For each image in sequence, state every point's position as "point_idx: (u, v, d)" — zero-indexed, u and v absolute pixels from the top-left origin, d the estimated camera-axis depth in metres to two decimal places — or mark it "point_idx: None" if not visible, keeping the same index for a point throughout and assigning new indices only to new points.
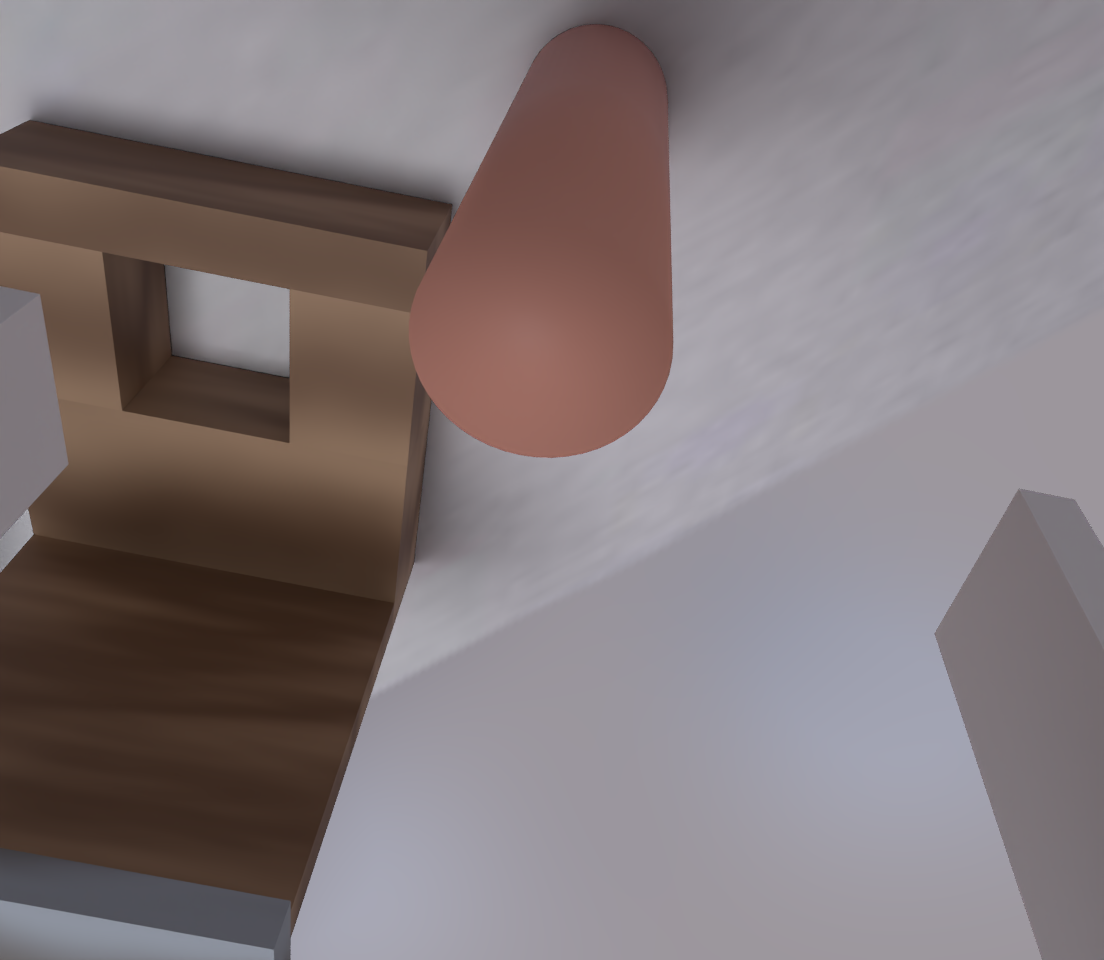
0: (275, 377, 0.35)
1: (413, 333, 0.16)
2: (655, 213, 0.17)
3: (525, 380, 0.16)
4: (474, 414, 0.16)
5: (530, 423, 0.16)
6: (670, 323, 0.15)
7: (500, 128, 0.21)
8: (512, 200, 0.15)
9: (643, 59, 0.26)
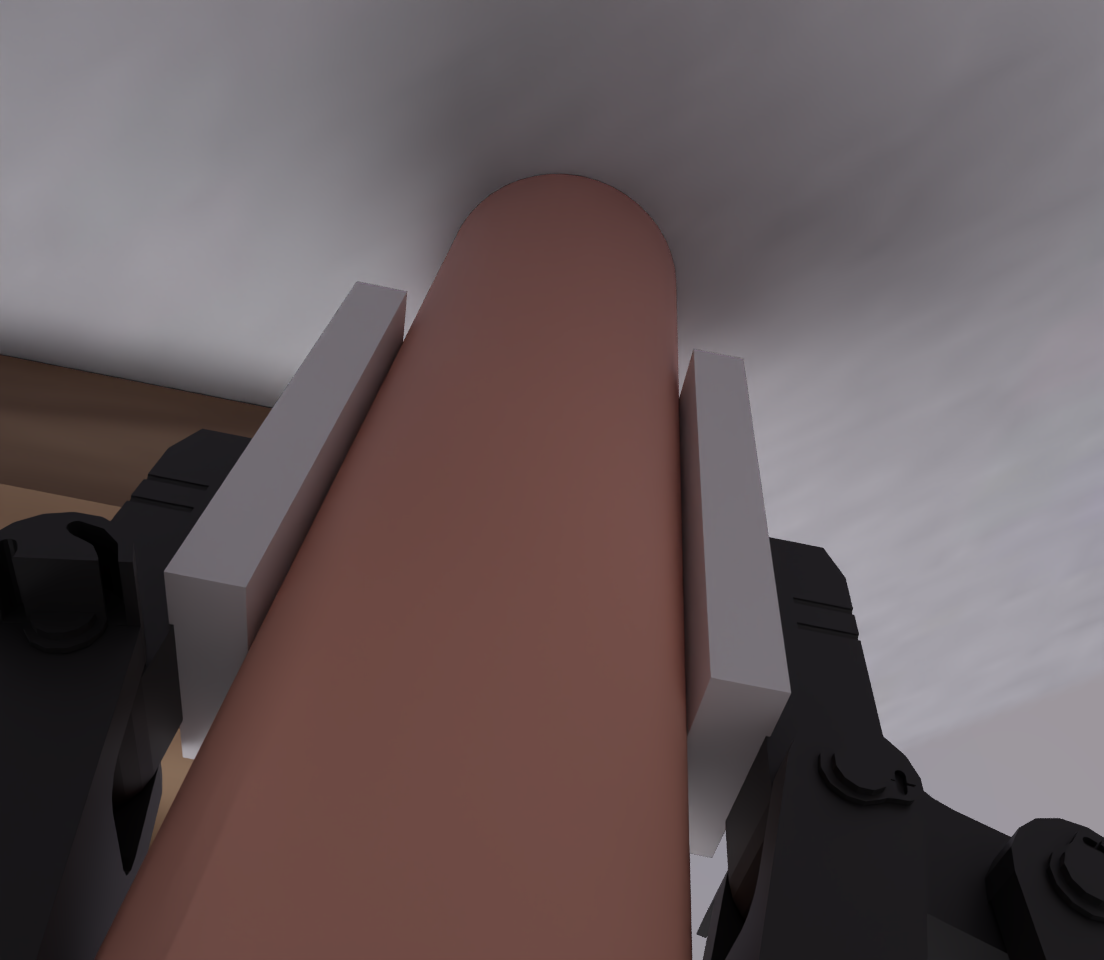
0: None
1: None
2: (652, 892, 0.07)
3: None
4: None
5: None
6: None
7: (347, 458, 0.11)
8: None
9: (636, 247, 0.15)
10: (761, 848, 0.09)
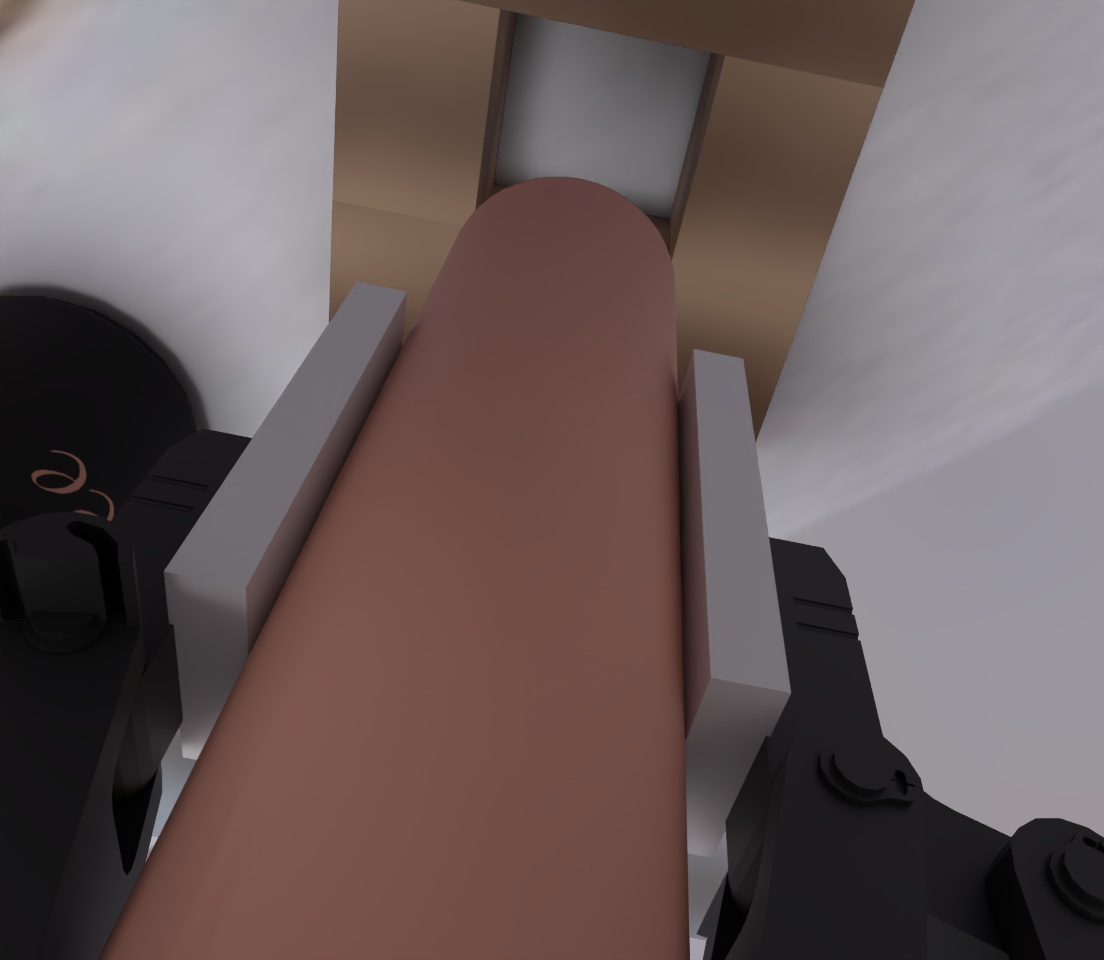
0: None
1: None
2: (650, 889, 0.07)
3: None
4: None
5: None
6: None
7: (348, 460, 0.11)
8: None
9: (635, 250, 0.15)
10: (761, 848, 0.09)
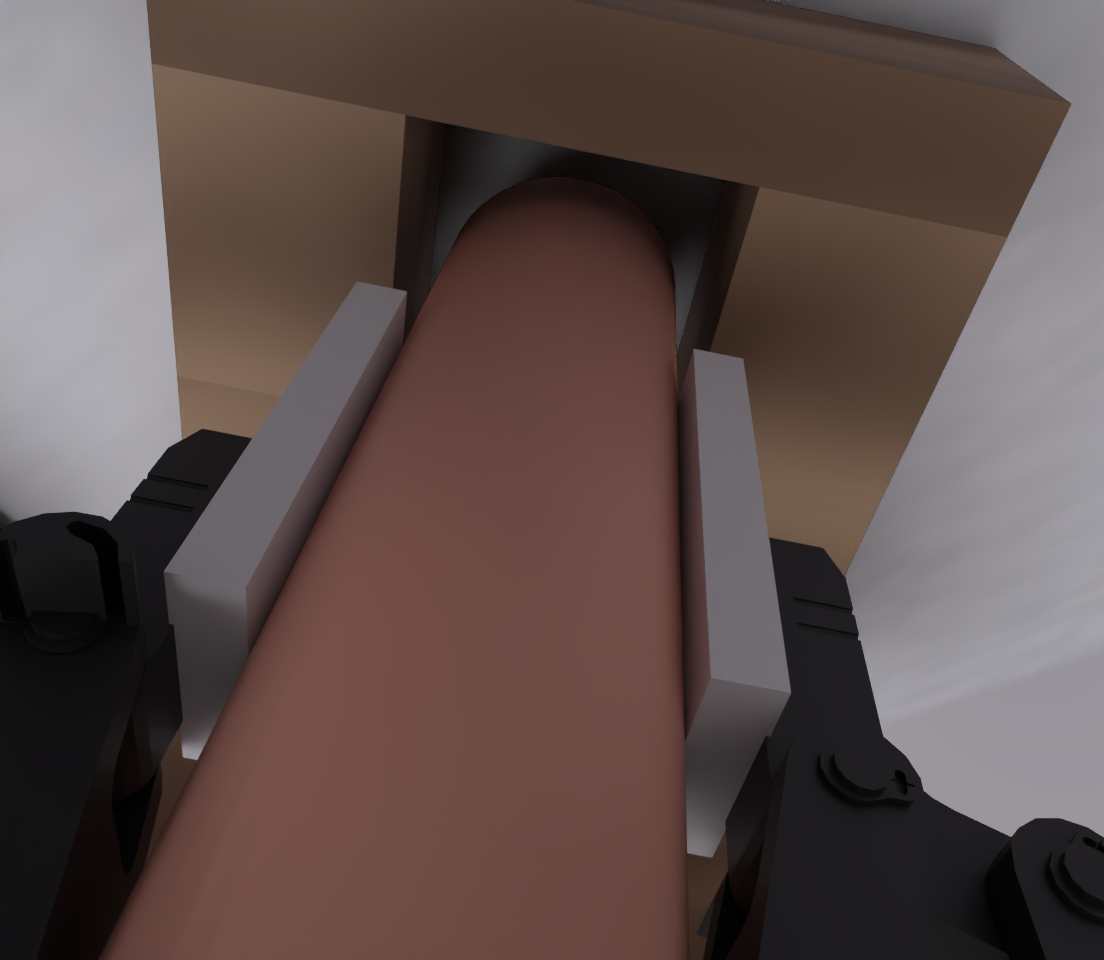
0: None
1: None
2: (649, 890, 0.07)
3: None
4: None
5: None
6: None
7: (349, 461, 0.11)
8: None
9: (635, 250, 0.15)
10: (761, 848, 0.09)
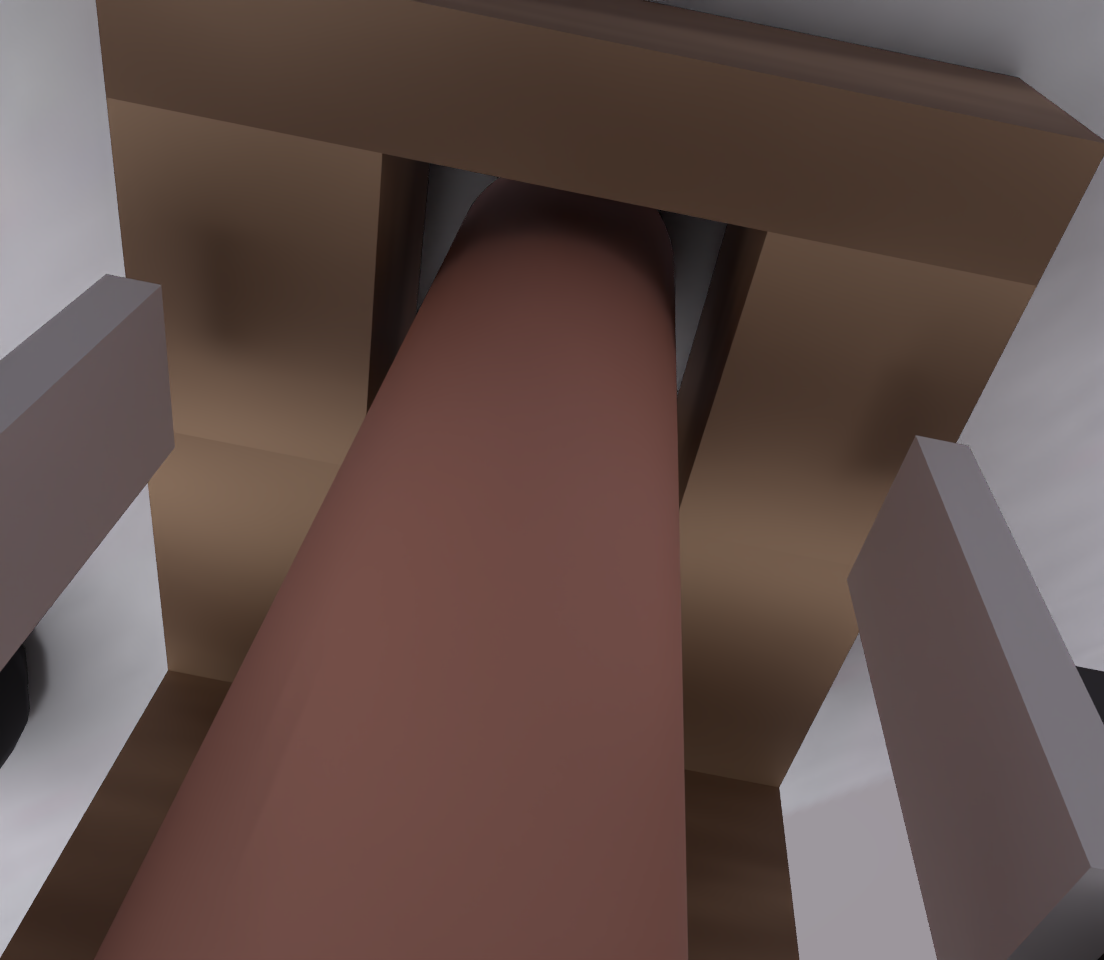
0: None
1: None
2: (650, 773, 0.07)
3: None
4: None
5: None
6: None
7: (369, 415, 0.12)
8: (242, 957, 0.05)
9: (635, 227, 0.16)
10: None
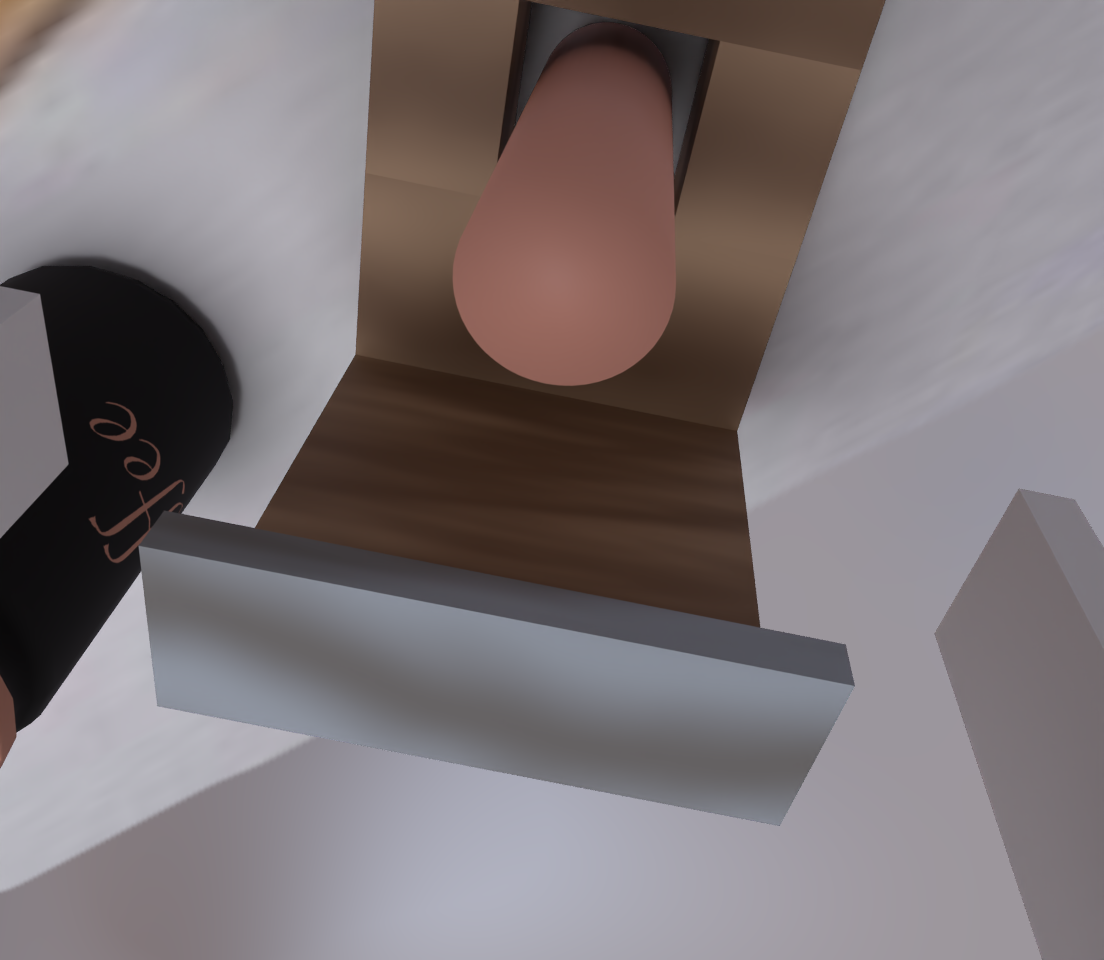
0: None
1: (456, 275, 0.18)
2: (661, 178, 0.20)
3: (551, 316, 0.19)
4: (506, 347, 0.19)
5: (553, 355, 0.19)
6: (673, 266, 0.18)
7: (524, 110, 0.24)
8: (542, 162, 0.18)
9: (650, 53, 0.29)
10: None
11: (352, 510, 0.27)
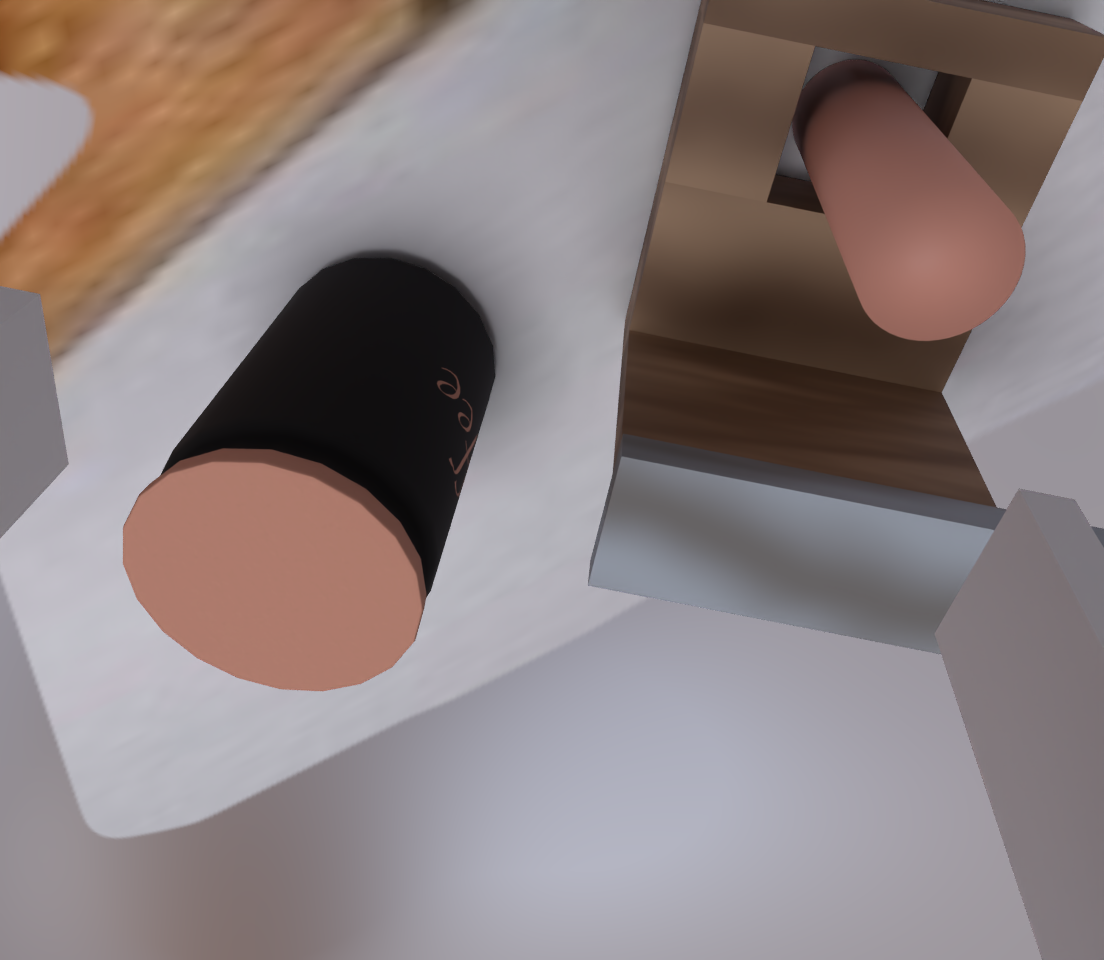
0: None
1: (861, 259, 0.26)
2: None
3: (924, 289, 0.26)
4: (885, 312, 0.26)
5: (920, 317, 0.26)
6: (1024, 252, 0.25)
7: (839, 135, 0.31)
8: (930, 179, 0.25)
9: (900, 85, 0.36)
10: None
11: None
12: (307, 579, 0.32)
